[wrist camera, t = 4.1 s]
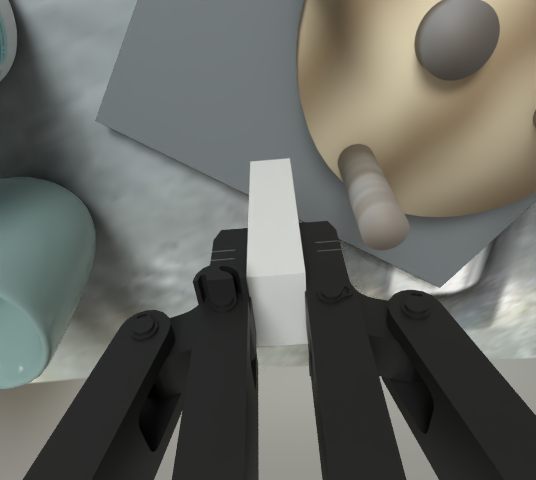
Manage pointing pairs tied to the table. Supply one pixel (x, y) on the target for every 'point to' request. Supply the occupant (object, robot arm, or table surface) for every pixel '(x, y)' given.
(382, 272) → the table surface
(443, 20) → the disc
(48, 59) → the table surface
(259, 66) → the stand
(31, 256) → the cup
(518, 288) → the table surface
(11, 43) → the pill bottle
